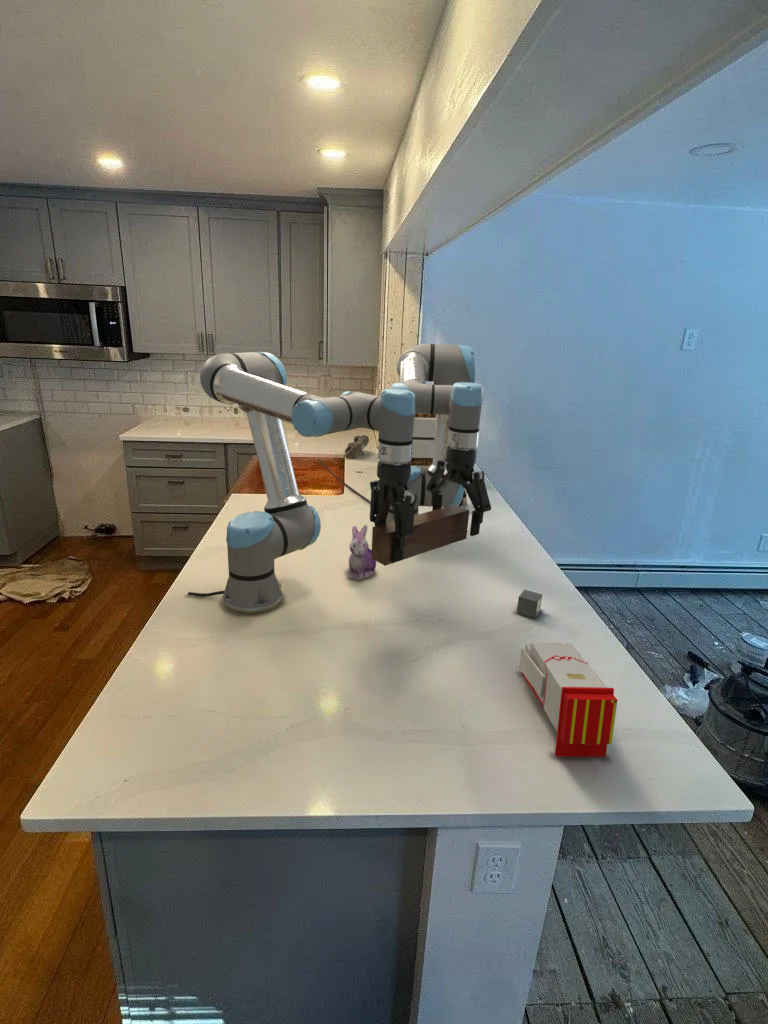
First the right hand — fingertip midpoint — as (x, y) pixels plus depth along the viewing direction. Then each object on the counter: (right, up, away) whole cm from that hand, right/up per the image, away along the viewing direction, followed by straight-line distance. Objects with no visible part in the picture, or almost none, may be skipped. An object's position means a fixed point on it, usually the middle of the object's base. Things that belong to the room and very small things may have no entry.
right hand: (454, 526), depth 148 cm
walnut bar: (-9, -5, -8) cm, 13 cm away
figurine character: (+11, +6, +83) cm, 84 cm away
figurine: (-25, -15, +21) cm, 36 cm away
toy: (+16, -36, -33) cm, 51 cm away
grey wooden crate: (-1, +23, +127) cm, 129 cm away
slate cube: (+20, -23, +4) cm, 31 cm away
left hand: (-17, -7, -14) cm, 23 cm away
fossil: (-33, +35, +157) cm, 164 cm away
